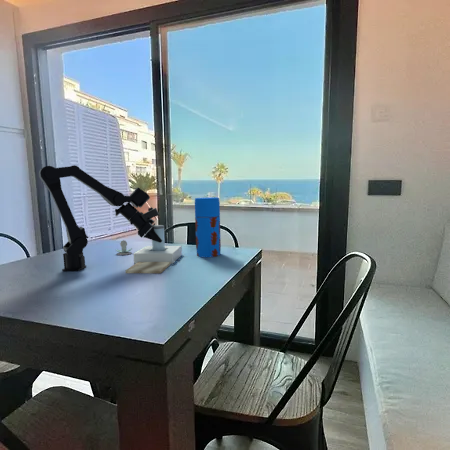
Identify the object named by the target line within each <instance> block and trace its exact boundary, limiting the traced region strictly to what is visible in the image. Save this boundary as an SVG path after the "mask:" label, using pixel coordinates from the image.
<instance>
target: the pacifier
mask: <svg viewBox="0 0 450 450" xmlns="http://www.w3.org/2000/svg"><path fill="white" fill-rule="evenodd" d="M119 244H120V247H121V249H117V248H116V249H115V252H117V253H116V255H118V256H126V255H132V250H133V248H132V247H131V248H128V249H127V246H128V242H127V241H126V240H124V239H123V240H121V241H120V243H119Z"/></svg>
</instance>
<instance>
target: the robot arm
mask: <svg viewBox="0 0 450 450" xmlns="http://www.w3.org/2000/svg"><path fill="white" fill-rule="evenodd" d="M38 171H39V172H38V178H39V179H40V180H41V182H42V183H43V185H44V186H45V188H46V190H47V191H49V193H50V195H51V197H52V199H53V202H54V204H55V207H56V209H57V210H58V213H59V215H60V217H61V220H62V222H63V225H64V226H65V232H66V236H67V242H66V243H65V244H64V245H63V246H62V249H63V251H64V253H63V254H62V255H63V256H62V257H63V266H64V267H63V268H62V269H61V271H62V272H63V271H64V272H68V271H69V272H75V271H76V272H77V271H81V270H83V269H84V268H86V267H87V265H86V261H85V255H84V249H85V248H86V247H87V245H88V243H89V240H88V239H89V236H88V235H87V234H86V229H85V228H84V227H82V226H79V225H78V224H77V222H76V219H75V217H74V215H73V212H72V210H71V209H70V205H69V203H68V201H67V198H66V197H65V196H66V195H65V194H64V192H63V190H62V189H63V188H62V183H61V178H63V179H64V178H67V177H70V178H71V177H72V178H74V179H76V180H77V181H78V182H81V184H83V185H85V186H87V188H89V189H90V190H92V191H94V192H95V193H97V194H98V195H99V196H100V197H101V198H102V199H103V200H104V201H105V202H106V203H107V204H108V205H110V206H113V207H118V208H115V209H114V212H115V213H114V214H115V217H118V216H119V215H120V214H121V216H122V217H123V218H125V219H126V220H127V221H128V222H129V224H130V225H133V226H134V227H135V228H136V229H137V235H138V236H139V237H140V238H143V239H144V238H145V239H149V240H151V241H152V240H154V241H157V242H160V243H161V242H162V240H161V238H160V237H159V236H158V235H157V233H156V232H155V231H154V226H153V225H156V222H155V220H154V219H153V218H155V217H158V216H160V213H159V211H158V209H157V207H152V206H151V207H149V208H148V210H147V211H145V213H144V212H143V211H140V210H138V208H141V209H142V207H143V206H144V205H145V204H146V203H147V202H148V201H149V200H150V199H151V197H150V195H149V194H148V193H147V192H145V191H144V190H142V189H141V188H140V187H136V188H135V189H134V190H133V192H132V193H130V194H129V195H125V194H124V193H122V192H121V191H118V190H117V189H114V188H112V187H109V186H107V185H105V184H103V183H102V182H100V181H99V180H98V179H96V178H94V177H93V176H92V175H90V174H89V173H87V172H86V171H84V170H82V169H81V168H80V167H79V166H78V165H70V166H61V167H54V166H52V165H46V166H43V167H42V168H40V169H39V170H38ZM125 203H126V204H125ZM152 226H153V227H152Z"/></svg>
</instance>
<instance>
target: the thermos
mask: <svg viewBox="0 0 450 450" xmlns="http://www.w3.org/2000/svg"><path fill="white" fill-rule="evenodd" d="M220 203H221V202H220V198H219V197H216V196H214V197H195V198H194V216H195V217H194V220H195V221H194V222H195V224H194V225H195V249H196V256H198V257H200V258H215V257H218V256H220V255H221V250H222V249H221V246H222V245H221V243H222V242H221V213H220V212H221V210H220V209H221V208H220V207H221V206H220Z"/></svg>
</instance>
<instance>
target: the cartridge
mask: <svg viewBox="0 0 450 450" xmlns="http://www.w3.org/2000/svg"><path fill="white" fill-rule="evenodd" d="M152 225H153V224H152ZM153 226H154V231H155V232H156V233H157V235H158V236H159V237H160V238H161V240H162V242H161V243H160V242H157V241H154V240H151V246H152V250H153V251H165V246H166V243H165V242H166V241H165V225H163V224H155V225H153ZM153 226H152V227H153Z"/></svg>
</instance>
